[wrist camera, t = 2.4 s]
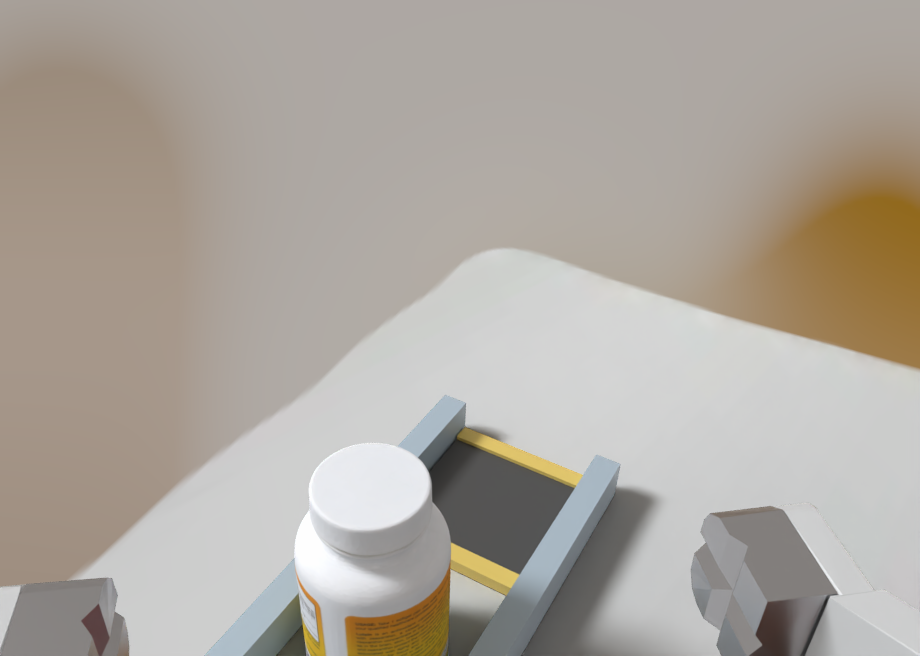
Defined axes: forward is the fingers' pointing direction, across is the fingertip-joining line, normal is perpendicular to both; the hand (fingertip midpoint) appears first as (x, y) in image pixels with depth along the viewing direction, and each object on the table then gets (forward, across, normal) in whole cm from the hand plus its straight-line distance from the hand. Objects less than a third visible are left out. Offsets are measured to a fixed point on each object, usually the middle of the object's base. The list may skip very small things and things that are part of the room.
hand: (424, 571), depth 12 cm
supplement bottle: (+13, 0, +20) cm, 24 cm away
